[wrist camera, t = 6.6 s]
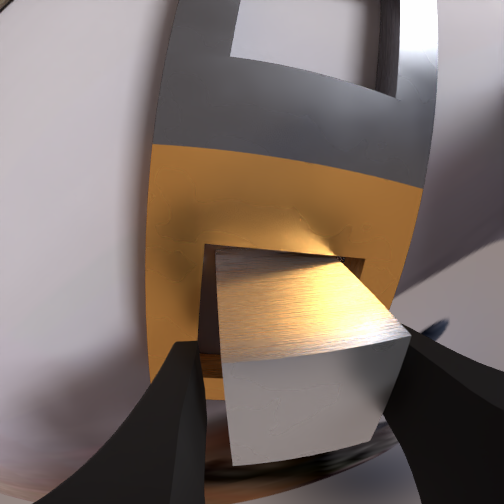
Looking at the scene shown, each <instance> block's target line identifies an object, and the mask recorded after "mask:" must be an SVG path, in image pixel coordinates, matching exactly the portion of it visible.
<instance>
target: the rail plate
mask: <svg viewBox="0 0 504 504" xmlns="http://www.w3.org/2000/svg"><path fill="white" fill-rule="evenodd" d="M239 5H240V0H179V3H178V7H177V11H176V14H175V19H174V23H173V27H172V31H171V36H170V40H169V45H168V49H167V54H166V59H165V64H164V70H163V75H162V81H161V87H160V93H159V99H158V106H157V113H156V120H155V128H154V136H153V144H152V154H151V164H150V175H149V188H148V203H147V222H146V255H145V292H146V326H147V345H148V359H149V372H150V383H152V381H153V379H154V378H155V376H156V375H157V373H158V371H159V370H160V368H161V366H162V364H163V363H164V361H165V359H166V357H167V355H168V353H169V352H170V350H171V348H172V346H173V344H174V343H175V342H177V341H197V339H198V322H199V307H200V294H201V281H202V269H203V257H204V246H205V244H213V245H224V246H235V247H246V248H257V249H268V250H279V251H289V252H300V253H311V254H321V255H332V256H343V257H345V260H344V264H343V265H344V266H345V267H346V268H347V269H348V270H349V271H350V272H351V273H352V274H353V275H354V276H355V277H356V278H357V279H358V280H359V281H360V282H361V283H362V284H363V285H364V286H365V287H366V288H367V289H368V290H369V291H370V292H371V293H372V294H373V295H374V296H375V297H376V298H377V299H378V300H379V301H380V302H381V303H382V304H383V305H384V306H385V307H386V308H387V310H388V311H389V309H390V306H391V303H392V300H393V298H394V295H395V292H396V289H397V286H398V283H399V280H400V276H401V273H402V270H403V267H404V264H405V260H406V257H407V253H408V250H409V246H410V243H411V239H412V235H413V231H414V227H415V223H416V219H417V215H418V211H419V206H420V202H421V197H422V192H423V188H424V182H425V177H426V172H427V166H428V160H429V154H430V147H431V140H432V133H433V124H434V115H435V105H436V92H437V74H438V21H437V4H436V0H381V22H380V42H379V56H378V68H377V79H376V89H375V91H374V90H372V89H369V88H366V87H363V86H360V85H357V84H353V83H350V82H347V81H344V80H340V79H337V78H333V77H330V76H326V75H322V74H318V73H314V72H310V71H306V70H302V69H298V68H293V67H288V66H284V65H279V64H273V63H268V62H262V61H256V60H250V59H243V58H236V57H230V52H231V46H232V41H233V36H234V30H235V25H236V20H237V15H238V10H239ZM199 355H200V361H201V368H202V374H203V380H204V386H205V394H206V399H210V400H225V393H224V384H223V373H222V363H221V355H216V354H200V353H199Z"/></svg>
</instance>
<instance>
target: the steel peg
mask: <svg viewBox="0 0 504 504" xmlns="http://www.w3.org/2000/svg"><path fill="white" fill-rule="evenodd" d="M215 260H216V282H217V301H218V318H219V334H220V349H221V363H222V373H223V384H224V393H225V403H226V412H227V421H228V430H229V438H230V446H231V454H232V462H233V466H238V465H249V464H259V463H267V462H275V461H281V460H288V459H294V458H300V457H305V456H310V455H315V454H320V453H325V452H329V451H333V450H338V449H342V448H346V447H349V446H353V445H357V444H360V443H364V442H367V441H370V439H371V437H372V435H373V433H374V431H375V429H376V427H377V425H378V423H379V420H380V418H381V416H382V414H383V411H384V409H385V407H386V404H387V402H388V400H389V397H390V395H391V392H392V390H393V387H394V385H395V382H396V380H397V377H398V374H399V372H400V369H401V366H402V363H403V360H404V357H405V355H406V352H407V349H408V345H409V342H410V339H411V336H412V335H411V334H410V333H409V332H408V331H407V330H406V329H405V328H404V327H403V325H402V324H401V323H399V321H398V320H397V319H396V318H395V317H394V316H393V315H392V314H391V313H390V312H389V311H388V310H387V308H386V307H385V306H384V305H383V304H382V303H381V302H380V301H379V300H378V299H377V298H376V297H375V296H374V295H373V294H372V293H371V292H370V291H369V290H368V289H367V288H366V287H365V286H364V285H363V284H362V283H361V282H360V281H359V280H358V279H357V278H356V277H355V276H354V275H353V274H352V273H351V272H350V271H349V270H348V269H347V268H346V267H345V266H344V265H343V264H342V263H341V262H340V261H339V260H338V259H337V258H336V257H335V256H332V255H321V254H311V253H300V252H289V251H279V250H268V249H257V248H243V249H224V250H215Z"/></svg>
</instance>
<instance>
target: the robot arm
mask: <svg viewBox="0 0 504 504" xmlns="http://www.w3.org/2000/svg"><path fill="white" fill-rule="evenodd" d="M402 325H403V324H402ZM403 327H404V328H405V329H406V330H407V331H408V332H409V333H410V334H411V335H412V336H411V339H410V342H409V345H408V349H407V352H406V355H405V357H404V360H403V363H402V366H401V369H400V372H399V374H398V377H397V380H396V382H395V385H394V387H393V390H392V392H391V395H390V397H389V400H388V402H387V404H386V407H385V409H384V411H383V415H384V417H385V419H386V421H387V422H388V424H389V426H390V428H391V429H392V431H393V433H394V435H395V436H396V438H397V440H398V442H399V443H400V445H401V447H402V449H403V451H404V453H405V456H406V458H407V461H408V463H409V466H410V468H411V471H412V474H413V477H414V480H415V483H416V486H417V489H418V492H419V495H420V499H421V503H422V504H504V372H503V371H500V370H497V369H494V368H492V367H489V366H486V365H483V364H481V363H478V362H476V361H474V360H472V359H470V358H467V357H465V356H463V355H461V354H459V353H457V352H455V351H453V350H451V349H449V348H447V347H445V346H443V345H441V344H439V343H437V342H435V341H433V340H432V339H430V338H428V337H426V336H424V335H422V334H420V333H419V332H416V331H415V330H413V329H411V328H409V327H407V326H405V325H403ZM206 427H207V412H206V394H205V386H204V380H203V374H202V368H201V361H200V355H199V348H198V341H177V342H175V343H174V344H173V346H172V348H171V350H170V352H169V353H168V355H167V357H166V359H165V361H164V363H163V364H162V366H161V368H160V370H159V371H158V373H157V375H156V376H155V378H154V379H153V381H152V383H151V384H150V386H149V387H148V389H147V390H146V392H145V394H144V395H143V396H142V398H141V399H140V401H139V402H138V403H137V405H136V406H135V408H134V409H133V410H132V412H131V413H130V414H129V416H128V417H127V418H126V420H125V421H124V422H123V424H122V425H121V426H120V427H119V428H118V430H117V431H116V432H115V433H114V434H113V435H112V437H111V438H110V439H109V440H108V441H107V442H106V443H105V444H104V445H103V447H102V448H101V449H100V450H99V451H98V452H97V453H96V454H95V455H94V456H93V457H92V458H91V459H89V460H88V461H87V462H86V463H85V464H84V465H83V466H82V467H81V468H80V469H79V470H78V471H76V472H75V473H74V474H73V475H72V476H70V477H69V478H68V479H67V480H65V481H64V482H63V483H61V484H60V485H59V486H58V487H56V488H55V489H54V490H52V491H51V492H50V493H48V494H47V495H45V496H44V497H42V498H41V499H39V500H38V501H36V502H34V503H33V504H205V497H204V469H205V447H206Z"/></svg>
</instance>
